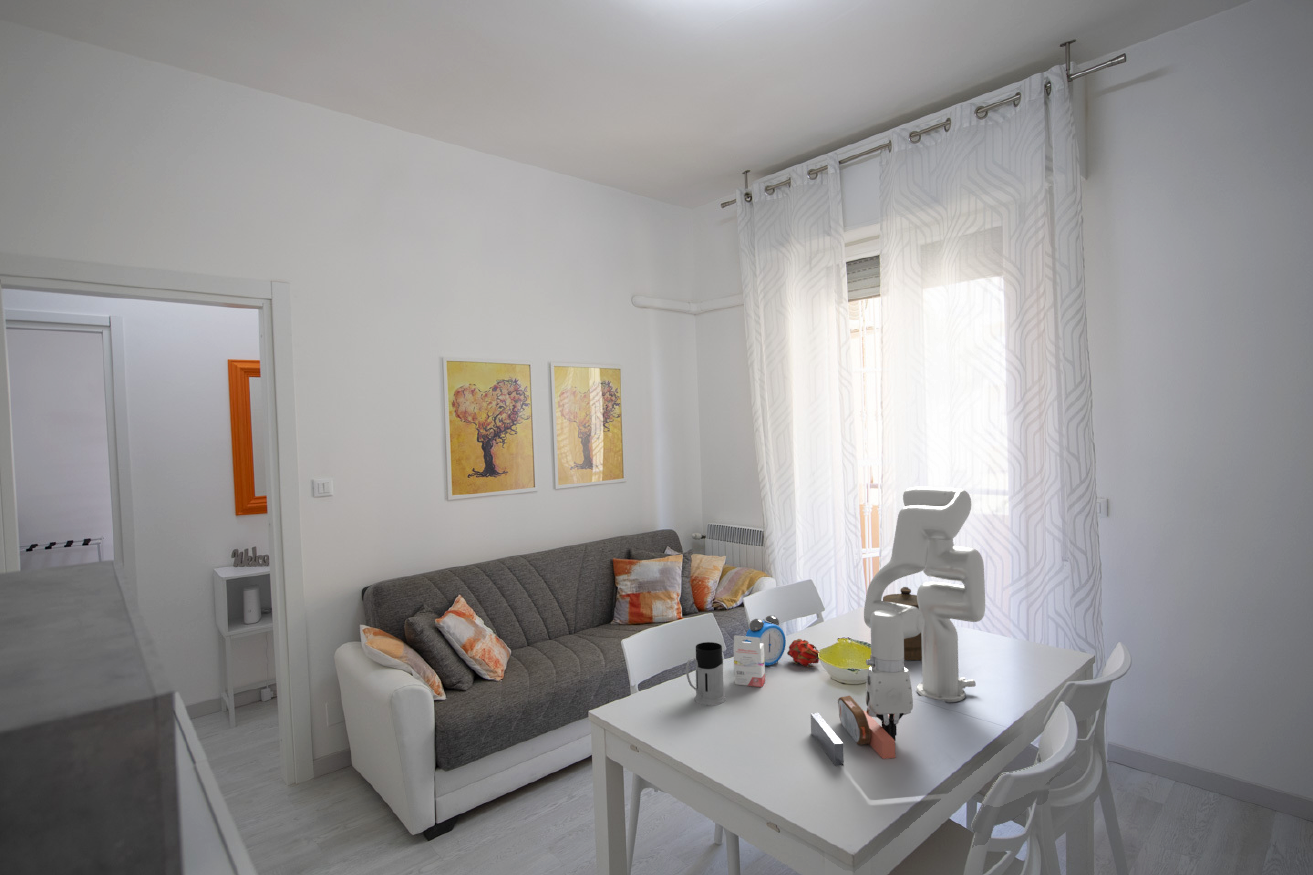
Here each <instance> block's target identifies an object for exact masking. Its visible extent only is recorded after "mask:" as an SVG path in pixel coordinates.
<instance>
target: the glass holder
mask: <svg viewBox="0 0 1313 875" xmlns="http://www.w3.org/2000/svg"><path fill="white" fill-rule="evenodd" d="M692 660H694V664H695V685H694V684H693V683H692V681H691V678H690V674H689V673H690V672H689V665H690V663H691V661H692ZM685 674H686V679H687V682H688V683H689V686H690V687H691V688H692V689H694V691H695V692H696V693H695V696H694V701H695V702H696V703H698V704H700V705H703V706H704V705H705V706H717V705H721V704H723V703H724V702H725V701H726V696H725V694H724V693H725V692H724V691H725V690H724V689H725V687H724V657H723V646H722V644H720V643H717V642H713V641H709V642H708V641H705V642H700V643H697V644H696V645H695V657H690V658H688V660H687V661H686V665H685Z"/></svg>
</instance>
